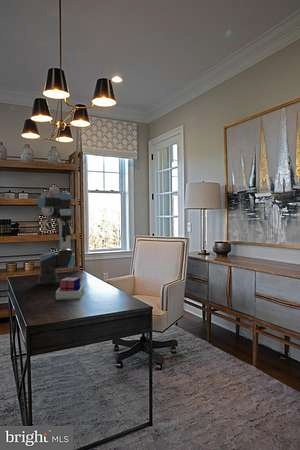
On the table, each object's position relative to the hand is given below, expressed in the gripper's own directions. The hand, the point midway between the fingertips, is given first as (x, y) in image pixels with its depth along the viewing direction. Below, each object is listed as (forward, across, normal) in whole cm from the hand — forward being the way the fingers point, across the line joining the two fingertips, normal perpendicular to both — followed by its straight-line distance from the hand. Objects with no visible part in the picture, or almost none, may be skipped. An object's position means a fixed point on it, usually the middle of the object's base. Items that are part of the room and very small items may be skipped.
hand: (66, 245), depth 233 cm
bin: (+32, +16, +4) cm, 36 cm away
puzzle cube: (+31, +16, +4) cm, 35 cm away
